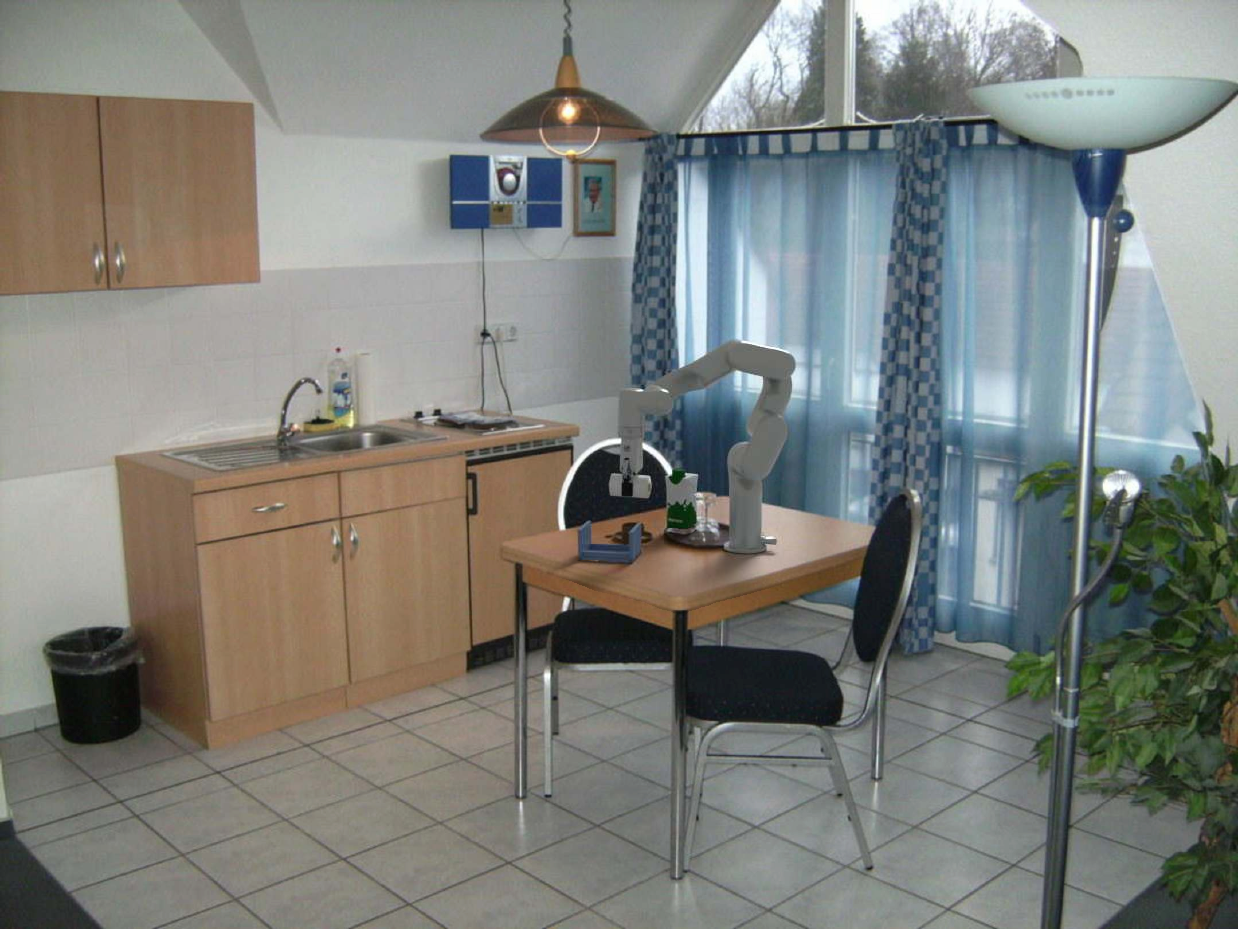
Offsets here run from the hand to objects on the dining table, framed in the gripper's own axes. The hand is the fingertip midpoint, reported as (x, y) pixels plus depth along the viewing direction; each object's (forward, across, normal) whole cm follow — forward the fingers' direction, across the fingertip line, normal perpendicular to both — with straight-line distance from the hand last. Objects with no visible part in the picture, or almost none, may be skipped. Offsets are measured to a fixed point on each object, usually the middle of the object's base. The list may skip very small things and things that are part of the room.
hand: (629, 493), depth 363 cm
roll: (+1, 0, 0) cm, 1 cm away
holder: (+19, -1, +5) cm, 20 cm away
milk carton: (+18, +32, -10) cm, 38 cm away
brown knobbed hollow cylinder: (+19, +17, +5) cm, 26 cm away
